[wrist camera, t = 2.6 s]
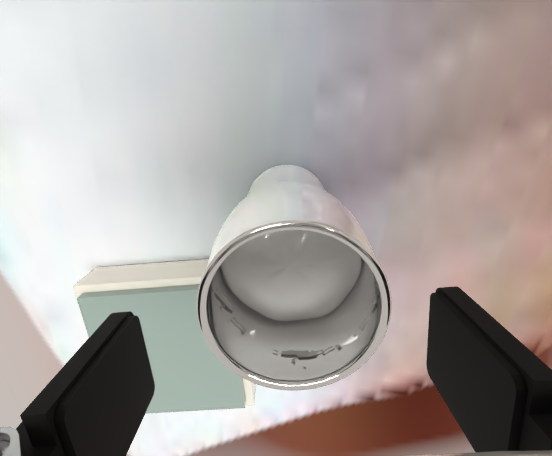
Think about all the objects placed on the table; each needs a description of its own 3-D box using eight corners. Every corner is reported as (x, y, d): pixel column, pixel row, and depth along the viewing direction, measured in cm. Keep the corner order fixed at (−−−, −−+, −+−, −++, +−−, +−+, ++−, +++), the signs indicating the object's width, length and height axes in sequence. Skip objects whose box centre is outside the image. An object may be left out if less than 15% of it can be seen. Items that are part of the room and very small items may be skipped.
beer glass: (291, 263, 27) (303, 425, 13) (222, 209, 26) (149, 324, 11) (351, 198, 25) (443, 303, 11) (281, 137, 24) (280, 166, 10)
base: (241, 256, 27) (234, 279, 23) (256, 376, 30) (253, 413, 27) (96, 267, 27) (66, 291, 23) (129, 384, 31) (107, 421, 27)
